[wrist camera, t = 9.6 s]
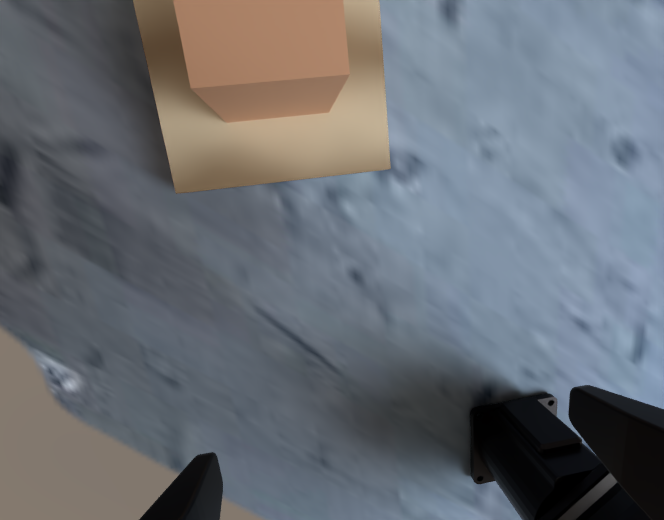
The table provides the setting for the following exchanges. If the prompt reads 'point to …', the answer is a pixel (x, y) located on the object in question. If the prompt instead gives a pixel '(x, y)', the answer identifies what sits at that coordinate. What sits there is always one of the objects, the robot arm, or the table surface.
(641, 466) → the robot arm
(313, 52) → the block
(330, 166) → the base slab
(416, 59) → the table surface
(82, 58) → the table surface
